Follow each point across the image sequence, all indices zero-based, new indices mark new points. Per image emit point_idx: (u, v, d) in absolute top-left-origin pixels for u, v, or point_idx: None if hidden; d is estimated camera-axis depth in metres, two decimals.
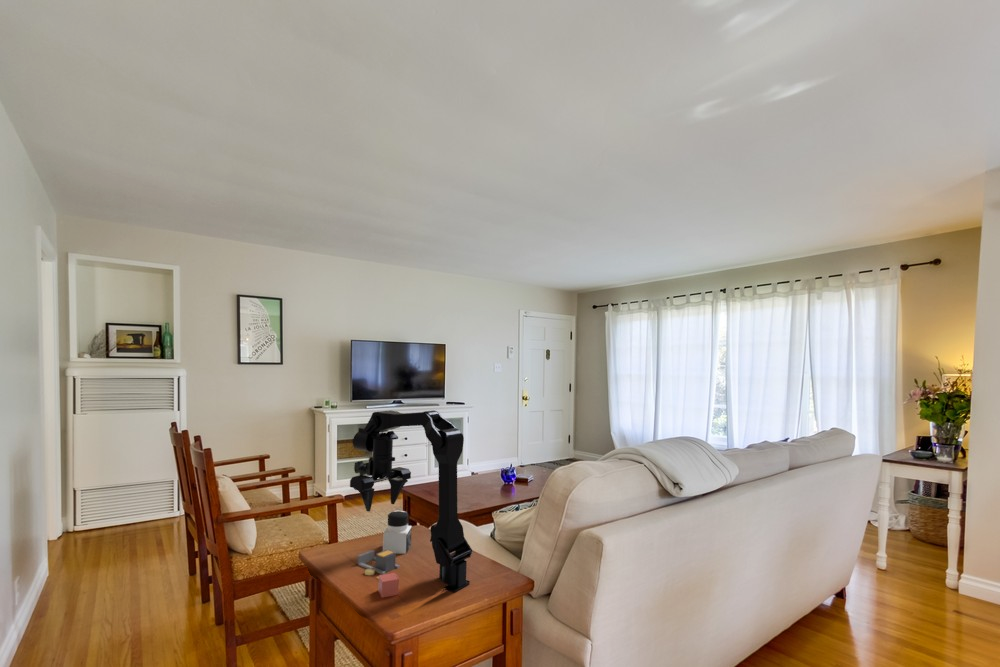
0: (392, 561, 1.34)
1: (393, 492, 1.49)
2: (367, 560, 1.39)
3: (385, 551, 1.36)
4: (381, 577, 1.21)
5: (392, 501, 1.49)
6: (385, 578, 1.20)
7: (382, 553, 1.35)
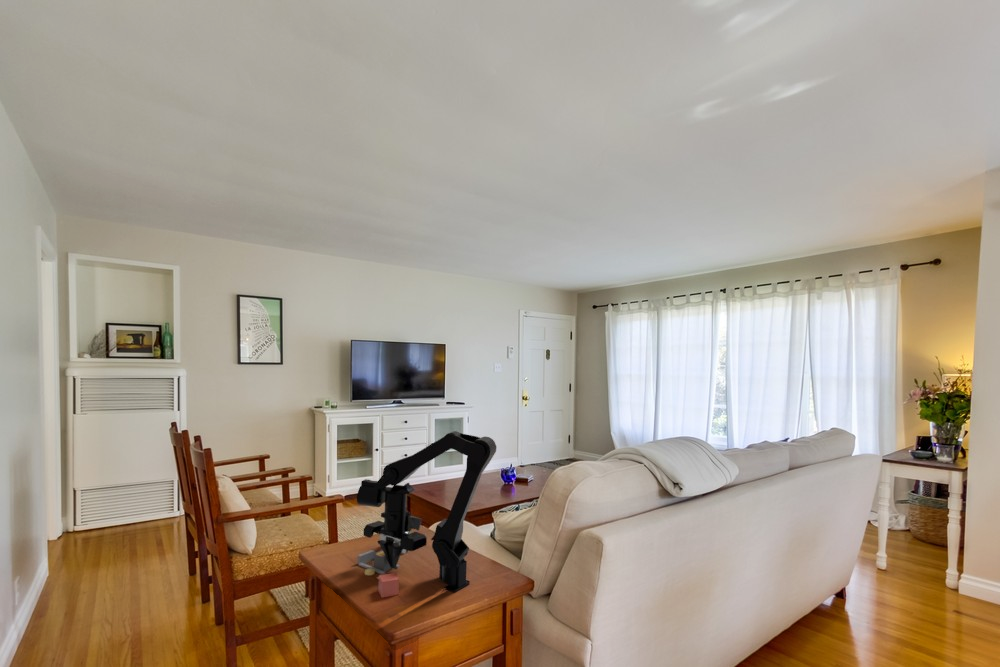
0: None
1: None
2: (367, 560, 1.39)
3: None
4: (381, 577, 1.21)
5: None
6: (385, 578, 1.20)
7: (380, 552, 1.35)
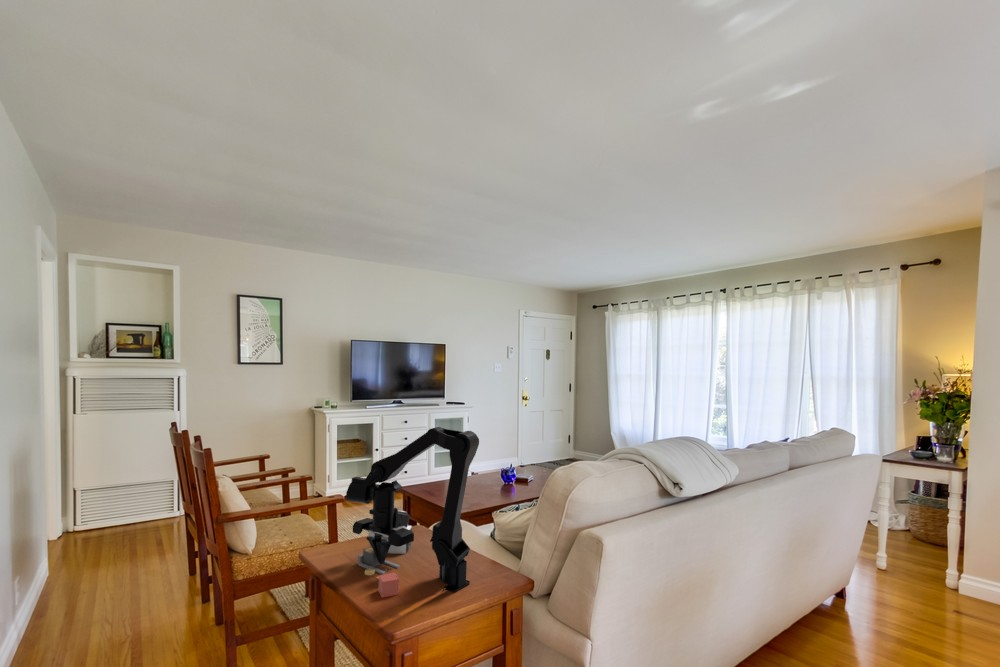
0: None
1: None
2: None
3: None
4: (381, 577, 1.21)
5: None
6: (385, 578, 1.20)
7: (369, 549, 1.38)
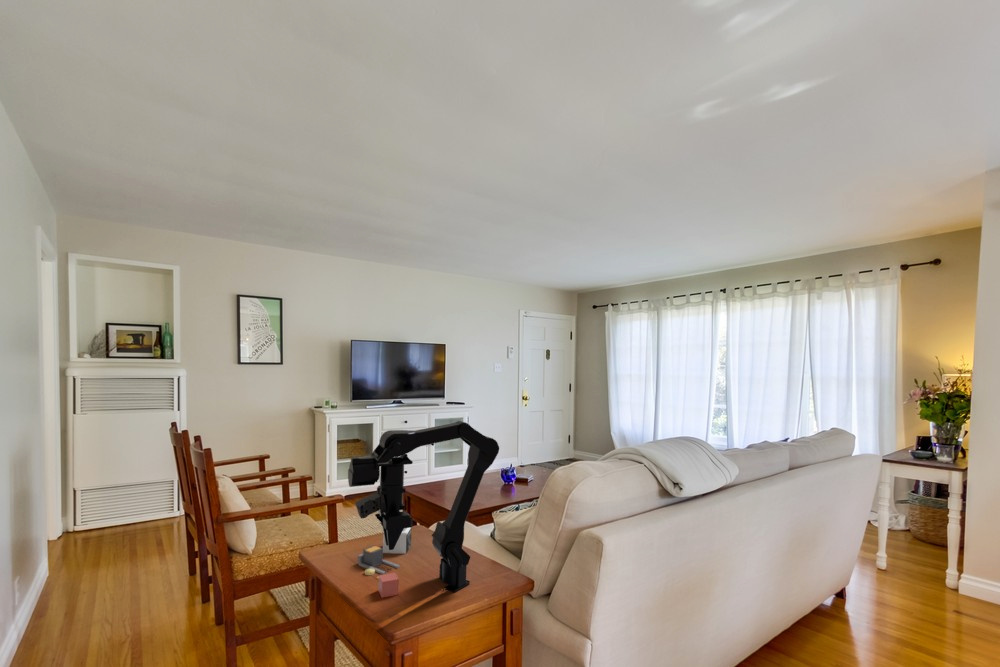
0: (379, 556, 1.37)
1: None
2: None
3: (373, 546, 1.39)
4: (381, 577, 1.21)
5: None
6: (385, 578, 1.20)
7: (370, 549, 1.38)
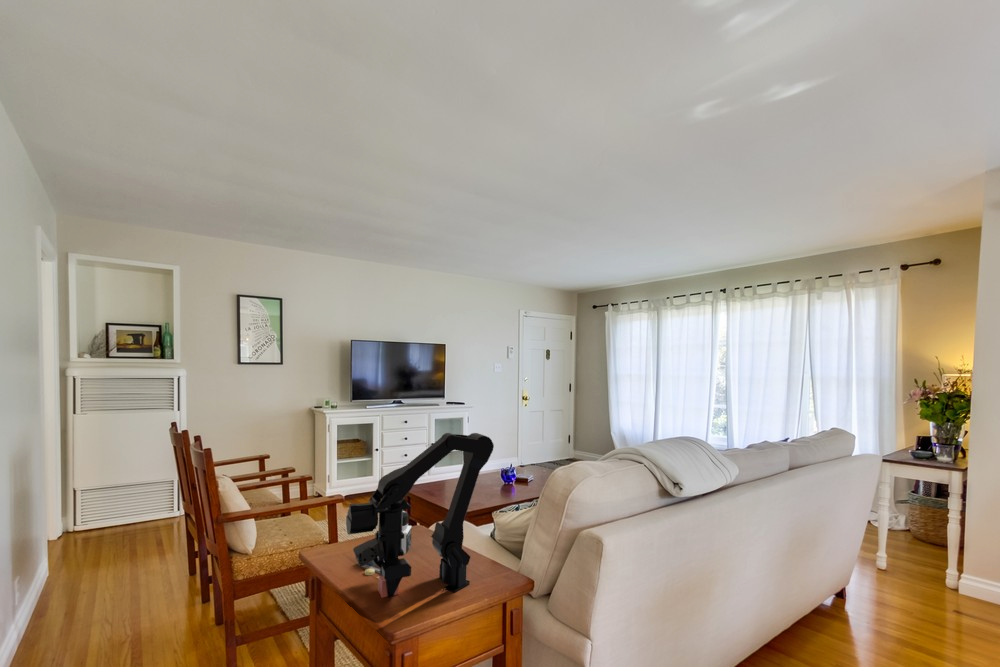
0: None
1: None
2: None
3: None
4: (381, 577, 1.21)
5: None
6: None
7: None
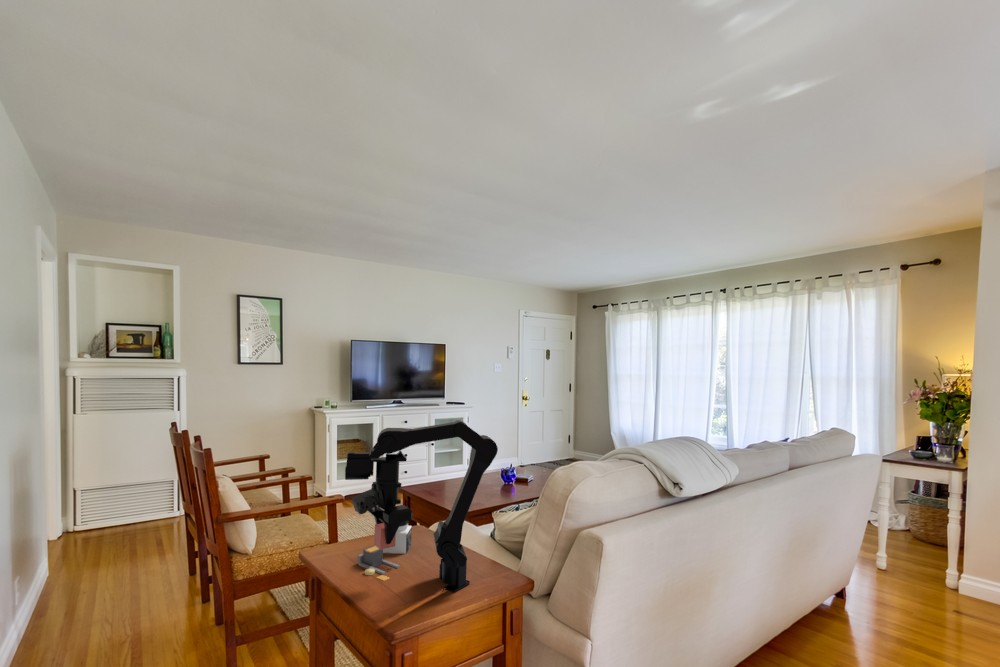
0: (379, 556, 1.37)
1: None
2: None
3: (373, 546, 1.39)
4: (378, 525, 1.25)
5: None
6: (382, 526, 1.25)
7: (370, 549, 1.38)
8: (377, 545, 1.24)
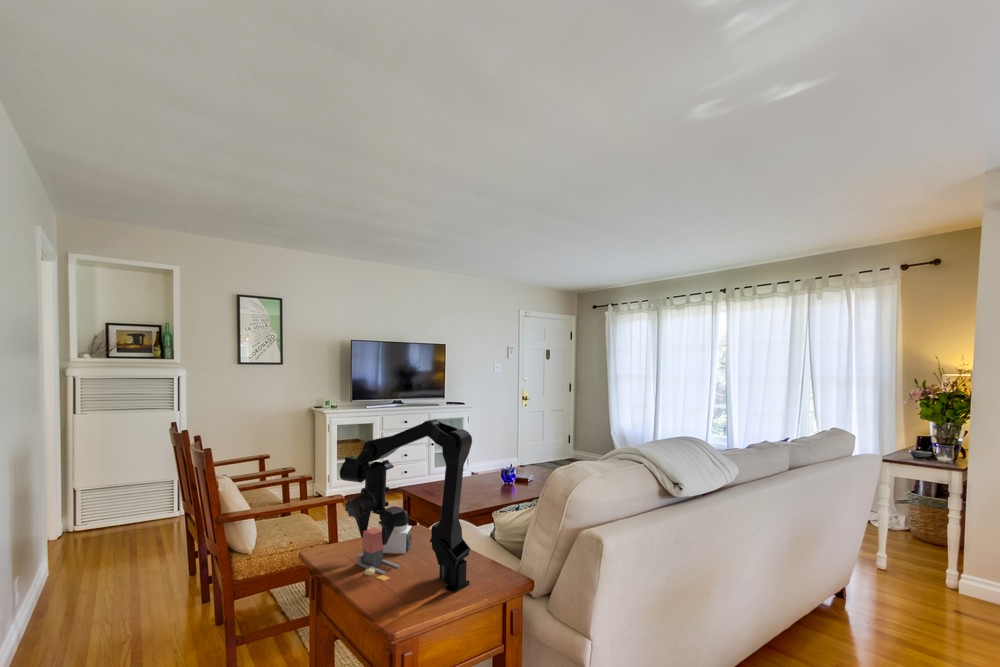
0: (379, 556, 1.37)
1: (364, 525, 1.41)
2: None
3: None
4: (367, 532, 1.37)
5: None
6: (372, 532, 1.37)
7: None
8: (368, 549, 1.36)
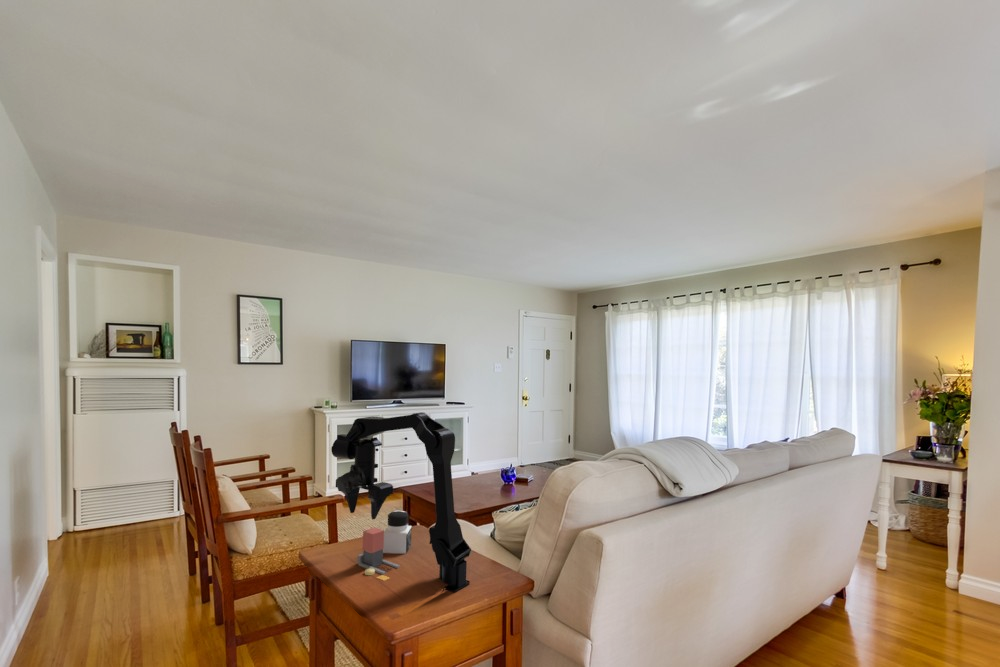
0: (379, 556, 1.37)
1: (353, 500, 1.45)
2: None
3: None
4: (367, 532, 1.37)
5: (353, 509, 1.45)
6: (372, 532, 1.37)
7: None
8: (368, 549, 1.36)
